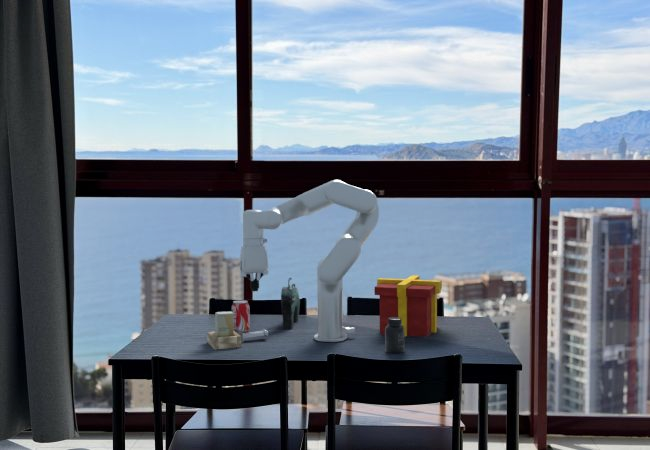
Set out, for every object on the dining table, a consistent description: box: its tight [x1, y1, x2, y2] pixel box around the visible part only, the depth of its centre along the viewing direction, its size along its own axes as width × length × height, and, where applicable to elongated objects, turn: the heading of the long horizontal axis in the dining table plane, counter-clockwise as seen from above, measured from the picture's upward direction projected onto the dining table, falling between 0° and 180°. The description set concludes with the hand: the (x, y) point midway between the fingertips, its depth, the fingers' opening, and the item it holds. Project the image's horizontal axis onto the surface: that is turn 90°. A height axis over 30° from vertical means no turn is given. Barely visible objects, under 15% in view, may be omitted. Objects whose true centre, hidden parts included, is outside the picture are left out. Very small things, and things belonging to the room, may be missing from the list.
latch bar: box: [243, 328, 270, 339], centre depth 327 cm, size 11×4×2 cm, turn 110°
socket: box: [206, 331, 242, 351], centre depth 319 cm, size 10×12×4 cm
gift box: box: [374, 274, 443, 338], centre depth 340 cm, size 25×25×20 cm
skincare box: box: [214, 310, 234, 338], centre depth 319 cm, size 6×4×12 cm
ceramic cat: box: [280, 277, 301, 330], centre depth 353 cm, size 20×6×20 cm, turn 171°
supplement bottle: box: [384, 317, 405, 355], centre depth 306 cm, size 7×7×12 cm
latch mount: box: [234, 329, 245, 344], centre depth 325 cm, size 3×6×4 cm, turn 20°
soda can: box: [231, 299, 251, 333], centre depth 343 cm, size 7×7×12 cm
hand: (254, 290), depth 325 cm, fingers closed
